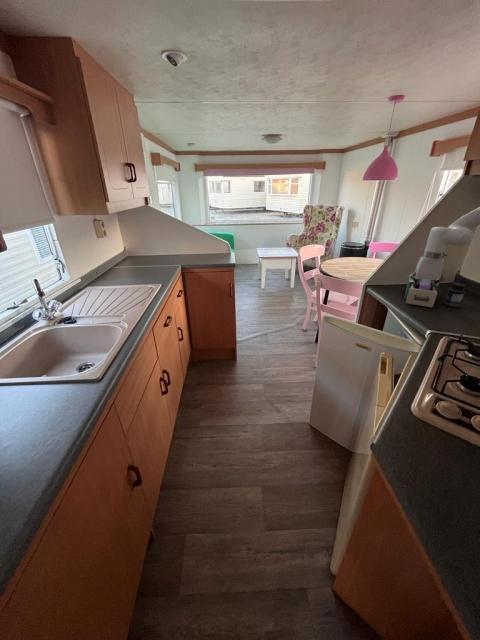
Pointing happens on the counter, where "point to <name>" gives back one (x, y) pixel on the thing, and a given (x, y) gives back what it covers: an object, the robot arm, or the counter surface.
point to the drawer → (421, 296)
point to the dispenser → (415, 283)
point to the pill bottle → (455, 295)
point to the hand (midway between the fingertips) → (422, 291)
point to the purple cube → (425, 286)
